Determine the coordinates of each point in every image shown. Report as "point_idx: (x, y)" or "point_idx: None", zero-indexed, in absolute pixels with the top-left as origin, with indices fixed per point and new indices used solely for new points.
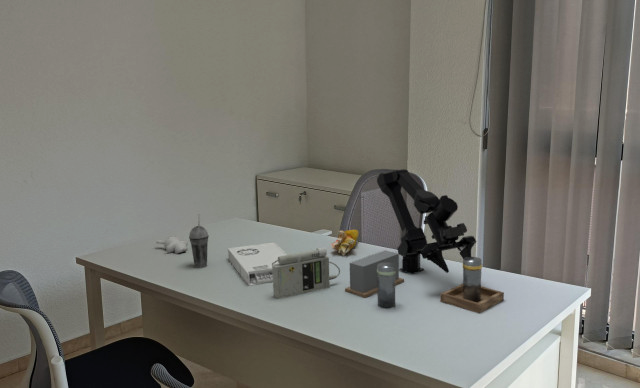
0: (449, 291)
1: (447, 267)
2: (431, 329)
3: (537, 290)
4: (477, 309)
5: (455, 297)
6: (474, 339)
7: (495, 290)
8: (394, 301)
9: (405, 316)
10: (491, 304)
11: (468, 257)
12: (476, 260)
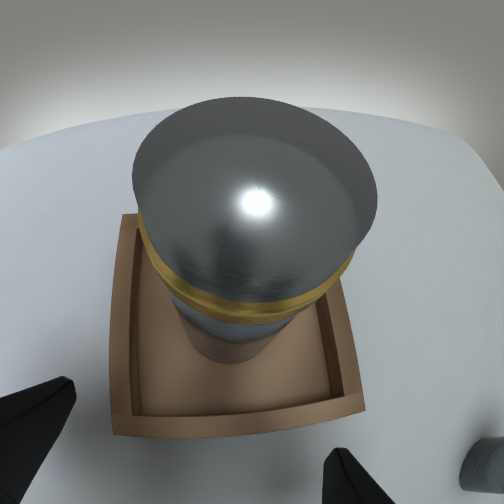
0: (307, 409)
1: (349, 472)
2: (469, 256)
3: (9, 212)
4: None
5: (344, 327)
6: (412, 167)
7: (121, 249)
8: (485, 444)
9: (487, 361)
10: None
11: (220, 239)
12: (254, 119)
